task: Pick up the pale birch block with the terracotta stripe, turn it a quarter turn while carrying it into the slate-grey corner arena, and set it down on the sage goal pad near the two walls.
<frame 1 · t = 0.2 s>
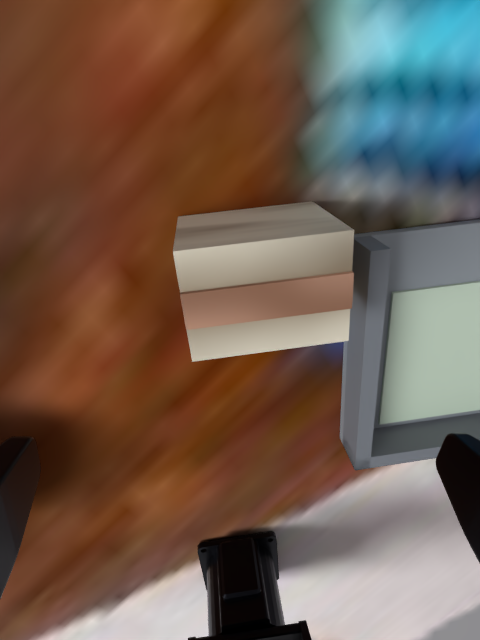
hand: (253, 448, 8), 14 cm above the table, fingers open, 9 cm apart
corner arena: (471, 333, 25), on the table
birch block: (249, 254, 21), on the table
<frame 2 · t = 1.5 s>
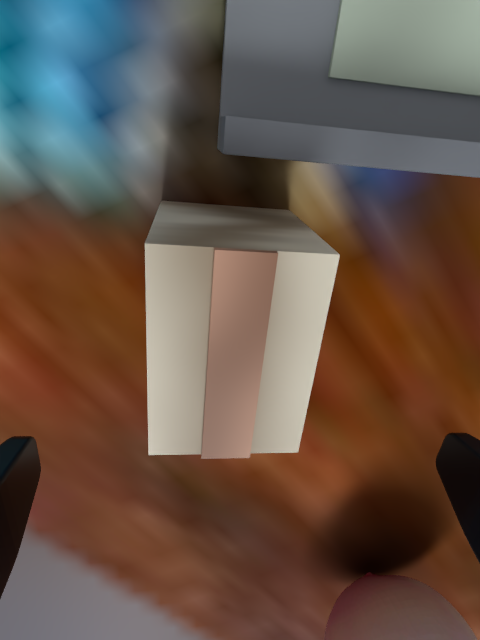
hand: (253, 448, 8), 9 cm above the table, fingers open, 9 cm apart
decorative fruit: (367, 567, 28), on the table
birch block: (220, 288, 17), on the table
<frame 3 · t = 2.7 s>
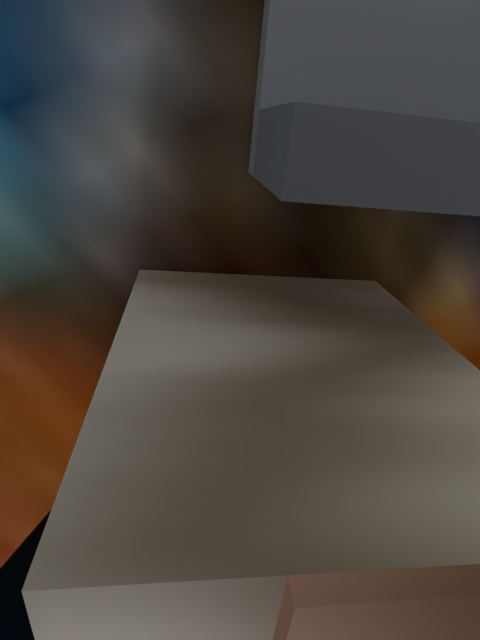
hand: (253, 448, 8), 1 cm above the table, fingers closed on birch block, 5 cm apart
birch block: (246, 408, 10), on the table, touching gripper
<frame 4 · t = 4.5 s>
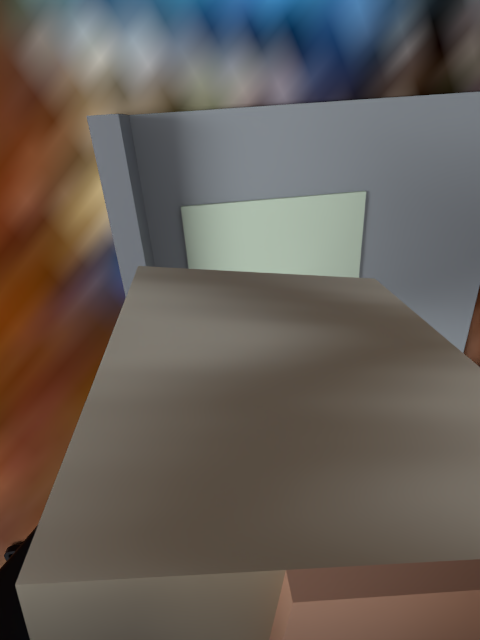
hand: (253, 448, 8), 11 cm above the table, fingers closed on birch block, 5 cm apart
corner arena: (313, 276, 19), on the table
birch block: (244, 406, 10), point 10 cm above the table, touching gripper
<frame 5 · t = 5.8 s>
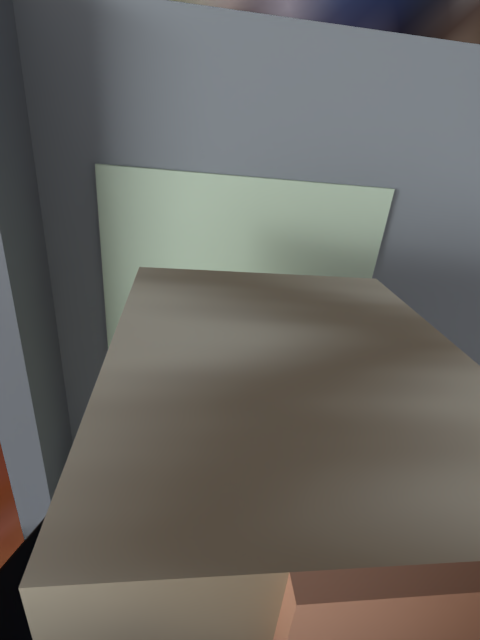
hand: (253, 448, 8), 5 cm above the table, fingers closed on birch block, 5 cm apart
corner arena: (295, 305, 13), on the table
birch block: (246, 406, 10), point 4 cm above the table, touching gripper
when the fingers open (4 cm above the table, at t = 6.5 s): birch block drops 2 cm, resting on corner arena.
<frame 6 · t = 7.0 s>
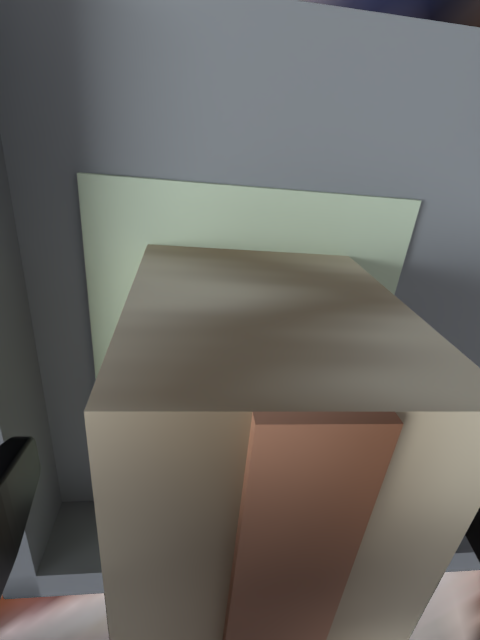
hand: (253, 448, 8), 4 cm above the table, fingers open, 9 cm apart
corner arena: (306, 328, 12), on the table
birch block: (238, 369, 11), point 1 cm above the table, touching corner arena
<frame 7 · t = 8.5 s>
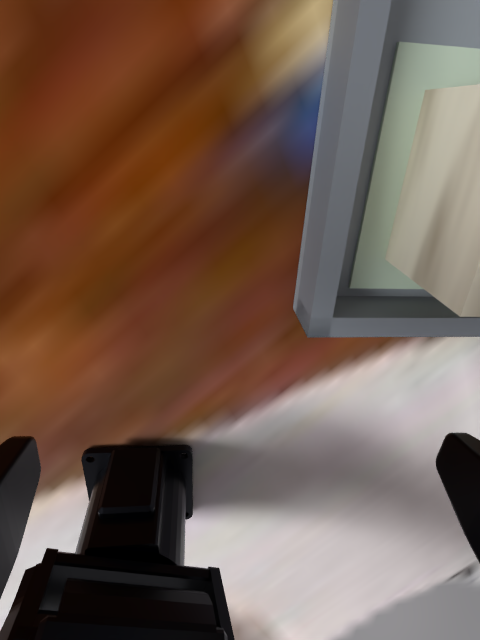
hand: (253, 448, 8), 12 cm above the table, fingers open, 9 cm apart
birch block: (456, 185, 17), point 1 cm above the table, touching corner arena
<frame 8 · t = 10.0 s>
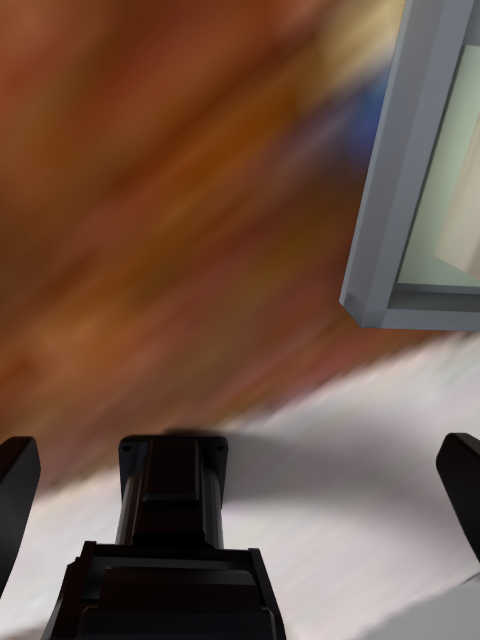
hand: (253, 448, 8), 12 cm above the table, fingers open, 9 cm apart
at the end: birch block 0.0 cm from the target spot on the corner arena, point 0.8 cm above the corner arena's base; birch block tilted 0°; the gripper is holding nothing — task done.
